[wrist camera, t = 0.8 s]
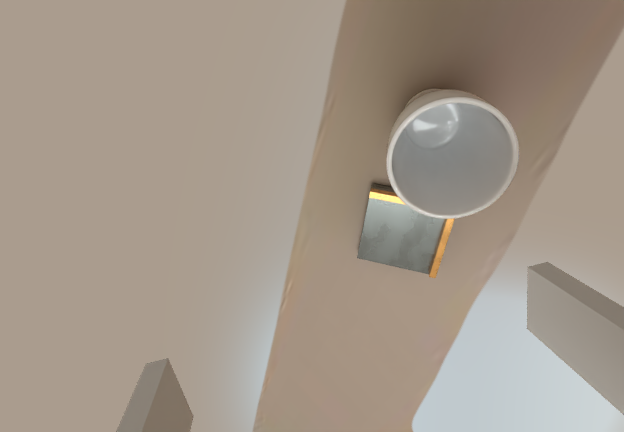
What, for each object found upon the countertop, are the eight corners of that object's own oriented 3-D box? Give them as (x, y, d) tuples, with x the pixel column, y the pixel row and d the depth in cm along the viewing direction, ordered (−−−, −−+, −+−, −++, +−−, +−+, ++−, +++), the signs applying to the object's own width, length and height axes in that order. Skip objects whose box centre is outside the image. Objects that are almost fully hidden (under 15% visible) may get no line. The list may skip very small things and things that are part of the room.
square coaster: (372, 183, 36) (370, 191, 33) (454, 198, 34) (457, 208, 32) (358, 251, 39) (355, 262, 37) (432, 267, 38) (434, 280, 36)
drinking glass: (481, 139, 32) (536, 198, 18) (407, 166, 34) (409, 235, 21) (458, 65, 30) (501, 70, 17) (381, 99, 32) (366, 128, 19)
